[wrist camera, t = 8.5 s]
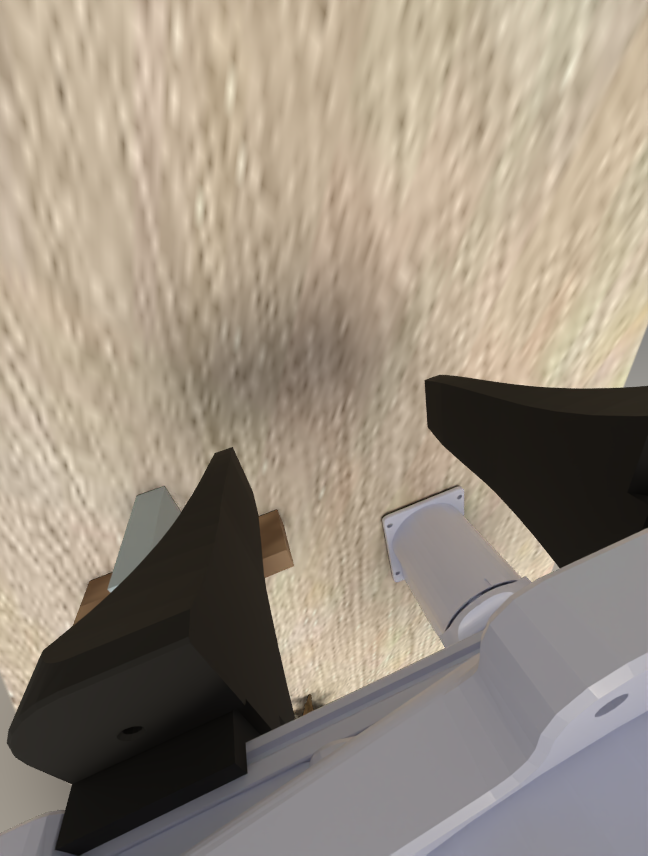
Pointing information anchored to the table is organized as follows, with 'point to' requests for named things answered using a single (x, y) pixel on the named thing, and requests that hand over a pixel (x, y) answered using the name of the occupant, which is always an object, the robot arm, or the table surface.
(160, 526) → the pale blue prism block
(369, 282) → the table surface
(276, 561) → the walnut rail
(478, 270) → the table surface
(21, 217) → the table surface
